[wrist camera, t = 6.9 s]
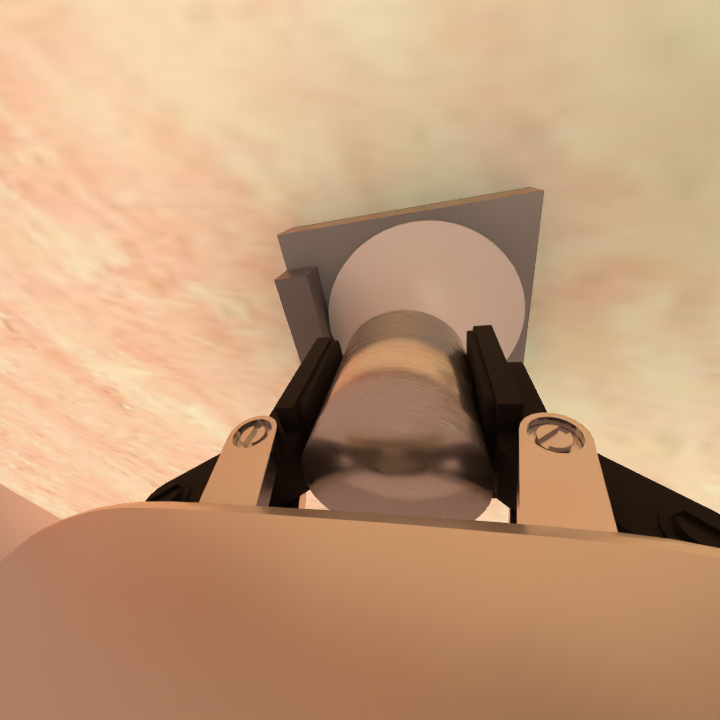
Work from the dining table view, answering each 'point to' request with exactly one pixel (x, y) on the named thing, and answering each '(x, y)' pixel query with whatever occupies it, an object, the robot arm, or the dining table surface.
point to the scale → (416, 269)
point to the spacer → (401, 425)
